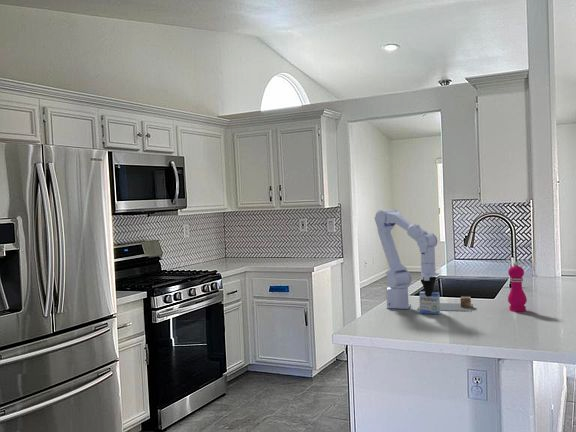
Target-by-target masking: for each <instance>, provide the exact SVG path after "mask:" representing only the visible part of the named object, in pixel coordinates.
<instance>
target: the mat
mask: <svg viewBox="0 0 576 432" xmlns="http://www.w3.org/2000/svg"><path fill="white" fill-rule="evenodd" d="M419 308H420V305H418V307H417V309H416V310H417V311H419ZM472 308H473V303H471V308H462V307H461V303H452V302H451V303H450V302H449V303H447V302H440V312H441V311H442V312H465V311H471V312H472V311H473V309H472Z"/></svg>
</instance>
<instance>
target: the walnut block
mask: <svg viewBox="0 0 576 432" xmlns="http://www.w3.org/2000/svg"><path fill="white" fill-rule="evenodd" d="M471 299H472V298H471V296H460V304H461V307H462V308H471V304H472V300H471Z"/></svg>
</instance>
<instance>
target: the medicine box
mask: <svg viewBox="0 0 576 432" xmlns="http://www.w3.org/2000/svg"><path fill="white" fill-rule="evenodd" d="M440 294H441V292H437V291H436V292H435V291H433V292H432V295H431V297H427V296H426V295H425V291H419V295H418V296H419V297H418V298H419V306H420V308H419V307H418V308H419V310H418V311H419V314H421V315H422V314H423V315H439V314H440V312H441V311H440V303H441V299H440V298H441V297H440Z"/></svg>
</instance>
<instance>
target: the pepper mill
mask: <svg viewBox="0 0 576 432" xmlns="http://www.w3.org/2000/svg"><path fill="white" fill-rule="evenodd" d="M507 272H508V276H510V278H509V281H510V284H511V288H510V291H509V294H508V296H507V302H508V304H510V305H509V311H510V312H515V313H523V312H526V310H527V309H526V308H527V305H526V304H527V302H528V299H527V295H526V294H525V292H524V289H523V282H524V278H523V276H524V274H525V270H524V269H523V268H522V266H519V262H516V261H515V262H513V266H510V267H509V269H508V270H507ZM525 305H526V306H525Z"/></svg>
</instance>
